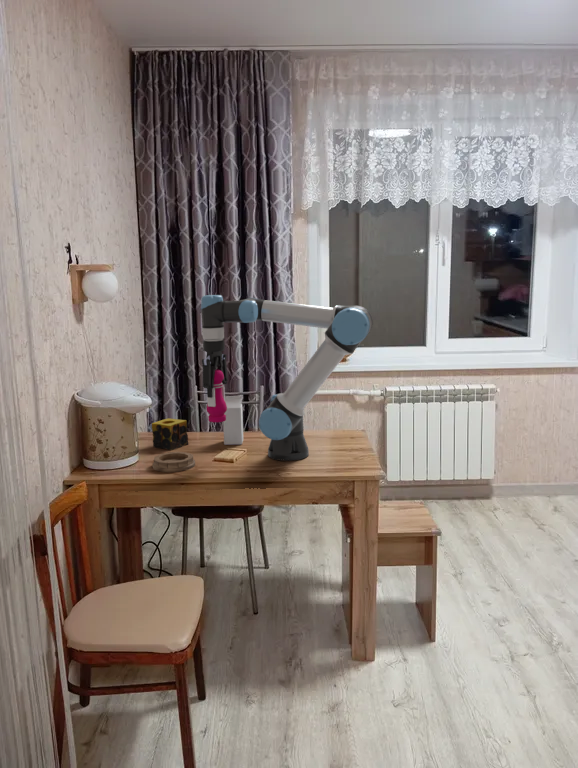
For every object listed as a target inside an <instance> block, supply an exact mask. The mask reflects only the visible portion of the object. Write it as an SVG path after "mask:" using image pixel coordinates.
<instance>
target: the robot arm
mask: <svg viewBox="0 0 578 768" xmlns="http://www.w3.org/2000/svg"><path fill="white" fill-rule="evenodd" d="M200 299H201V300H200V301H201V302H200V313H201V325H202V326H201V328H202V331H201V332H202V339H203V341H202V348H203V349H202V350H203V351H204V352H206V356H205V357H206V358H202V360H201V364H202V387H203V388H204V389H206V395H207V404H208V406H212V407H215V406H216V404H215V388H213V385H214V377H215V370H216V369H217V370H220V371H222V372H223V375H224V379H223V381H222V383H223V384H222V385H223V387H222V396H223V398H224V400H225V396H226V393H225V392H226V390H225V389H226V388H225V386H226V385H227V384H228V368H227V367H228V366H227V354H225V353H223V351H225V349H226V346H225V344H226V343H225V340H224V339H225V326H224V324H225V323H237V324H238V323H240V324H241V323H244V324H247V323H255V322H256V321H263V322H271V323H279V324H280V323H281V324H285V325H287V324H288V325H295V326H303V327H311V328H320V329H326V330H325V332H324V340H323V341H322V343H321V344H320V345H319V346H318V348H317V349H316V351H315V352H314V353H313V355H312V356H311V357H310V358H309V360H308V361H307V362H306V364H305V365H304V367H302V369H301V371H300V372H299V373H298V374H297V376H296V377H295V378H294V380H293V381H292V382H291V384H290V385H289V386H288V387H287V388H286V390H285V391H284V392H281V393H277V394H273V395H271V396H270V397H271V398H270V404H269V405H268V406H267V408H265V409H264V410H262V412H261V414H260V416H259V419H258V426H259V429H260V431H261V433H262V434H263V435H264V436H265V437H266V438H267V439H270V442H269V445H268V449H267V455H268V456H267V457H268V458H270V459H272V460H275V461H284V462H285V461H298V460H302V459H305V458H307V457H309V455H310V454H309V453H310V452H309V450H310V449H309V446H308V444H307V441H306V438H305V435H304V434H305V433H304V417H305V407H306V406H307V405H308V403H309V402H310V401H311V400H312V398H313V397H314V396H315V395H316V393H317V392H318V391H319V389H320V388H321V387H322V386H323V384H324V383H325V382H326V380H328V378H329V376H330V375H331V374H332V373H333V372H334V370H335V369H336V367H337V366H338V365H339V364H340V363H341V361H342V360H343V359H344V357H345V356H347V355H352V354H353V353H354V352H355V351H356V350H357V348H358V347H359V345H360V344H361V343H362V342H363V341H364V340H365V339H366V337H367V336H368V335H369V334H370V333H371V331H372V328H373V325H374V321H373V320H374V319H373V316H372V313H370V311H369V310H368V309H367V308H366V307H364V306H361V305H340V304H338V305H335V306H334V307H330V306H321V305H312V304H304V303H295V302H294V303H292V302H286V301H285V302H284V301H276V300H275V301H274V300H269V299H267V300H265V299H261V298H260V299H259V298H255V297H248V298H245V299H241V300H224V297H223V295H221V294H208V295H203V296H202V297H201V298H200Z"/></svg>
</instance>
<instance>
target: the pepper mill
mask: <svg viewBox="0 0 578 768" xmlns="http://www.w3.org/2000/svg"><path fill="white" fill-rule="evenodd" d="M223 379H224V375H223V372H222V371H220V370H217V369H216V370H215V377H214V385H213V388H215V404H216V406H215V407H212V406H208V403H207V404H206V412H207V413H208V414H209V415H208V417H207V418H208V421H209V422H210V423H222V422H223V421H225V420H226V415H225V414H224V413H225V412H226V411H227V405H226V402H225V400H224V398H223V396H222V387H223V385H222V384H223V383H222V381H223Z"/></svg>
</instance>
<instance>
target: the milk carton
mask: <svg viewBox="0 0 578 768" xmlns="http://www.w3.org/2000/svg"><path fill="white" fill-rule="evenodd" d="M225 402H226V405H227V411H226V412H225V413H224V414H225V415H226V420H225V421H223V424H222V426H223V429H222V430H223V444H224V445H243V442H244V422H243V420H244V419H243V416H244V415H243V403H242V402H243V401H242V396H241V395H233V396H232V395H225Z"/></svg>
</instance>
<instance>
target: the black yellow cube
mask: <svg viewBox="0 0 578 768" xmlns="http://www.w3.org/2000/svg"><path fill="white" fill-rule="evenodd" d="M187 426H188V425H187V420H186V419H176V418H165V419H162V420H158V421H156V422H152V423H151V431H152V438H153V439H152V444H153V445H152V446H153V448H158V449H163V450H168V451H173V450H176V449H180V448H182V447H184V446H187V445H189V439H188V438H189V437H188V436H189V434H188V431H187Z"/></svg>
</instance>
